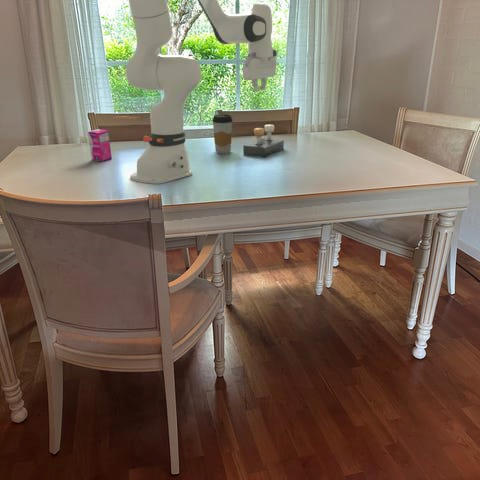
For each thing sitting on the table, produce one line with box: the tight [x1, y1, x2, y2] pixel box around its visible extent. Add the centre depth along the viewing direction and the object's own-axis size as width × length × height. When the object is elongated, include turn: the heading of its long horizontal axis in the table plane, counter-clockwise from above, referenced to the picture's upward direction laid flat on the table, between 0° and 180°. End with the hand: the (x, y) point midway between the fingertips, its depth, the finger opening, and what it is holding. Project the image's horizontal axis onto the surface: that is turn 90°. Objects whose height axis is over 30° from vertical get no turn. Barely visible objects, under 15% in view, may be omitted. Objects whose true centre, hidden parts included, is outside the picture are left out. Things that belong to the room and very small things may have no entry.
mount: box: [242, 137, 285, 159], centre depth 188 cm, size 17×10×4 cm, turn 149°
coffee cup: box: [211, 113, 234, 155], centre depth 186 cm, size 8×8×15 cm
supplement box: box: [87, 128, 113, 163], centre depth 176 cm, size 6×6×12 cm
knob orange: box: [253, 127, 265, 146], centre depth 183 cm, size 4×4×7 cm
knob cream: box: [264, 124, 275, 142], centre depth 190 cm, size 4×4×7 cm
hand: (259, 90), depth 175 cm, fingers open, 4 cm apart
